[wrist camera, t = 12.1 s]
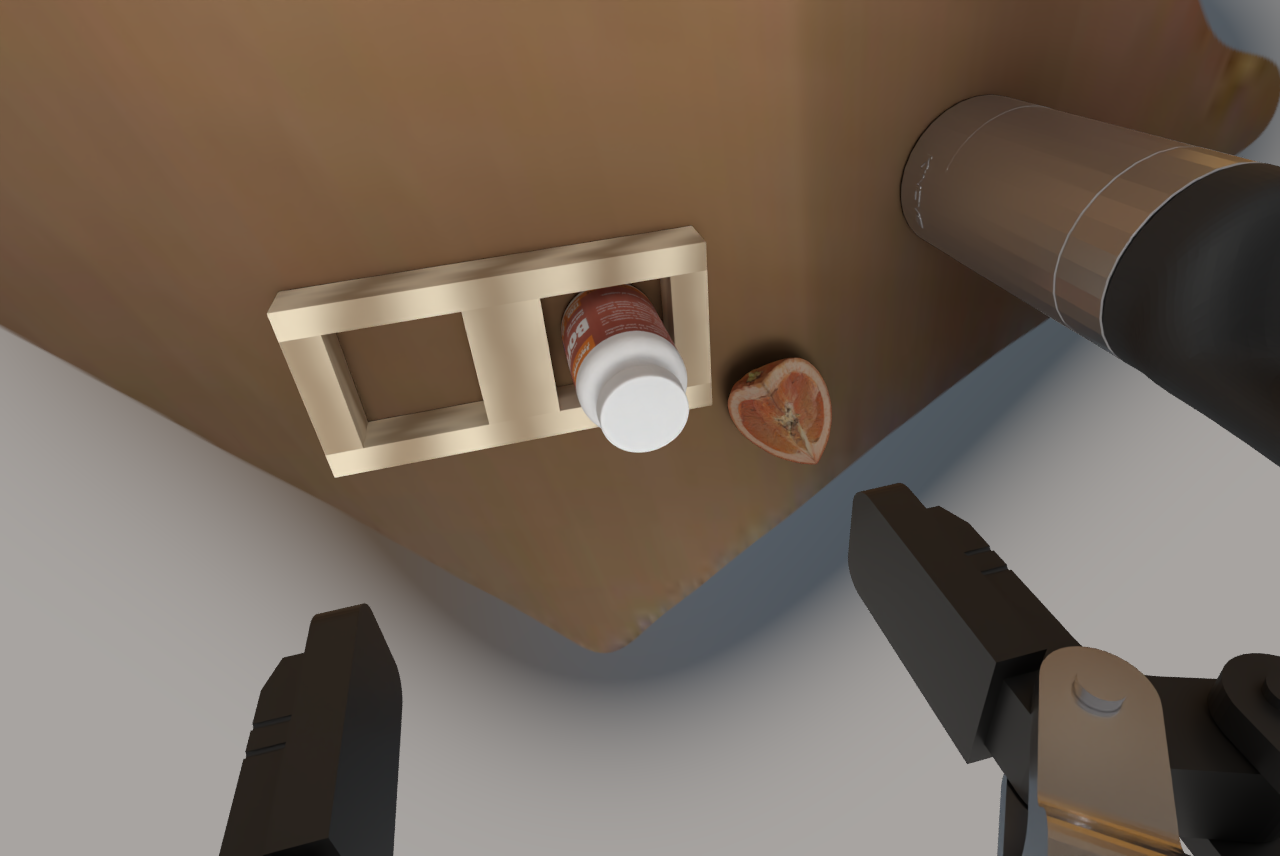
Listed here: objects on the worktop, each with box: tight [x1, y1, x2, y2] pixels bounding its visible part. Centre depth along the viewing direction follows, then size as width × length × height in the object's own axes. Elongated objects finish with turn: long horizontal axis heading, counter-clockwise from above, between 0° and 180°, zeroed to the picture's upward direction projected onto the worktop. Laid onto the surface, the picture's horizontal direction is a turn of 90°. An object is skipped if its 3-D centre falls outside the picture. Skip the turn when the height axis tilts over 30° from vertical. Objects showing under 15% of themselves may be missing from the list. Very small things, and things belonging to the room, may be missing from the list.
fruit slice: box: [728, 358, 832, 464], centre depth 49 cm, size 8×7×5 cm
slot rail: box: [267, 226, 712, 478], centre depth 44 cm, size 24×11×3 cm, turn 96°
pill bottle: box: [561, 284, 689, 452], centre depth 41 cm, size 6×6×11 cm
